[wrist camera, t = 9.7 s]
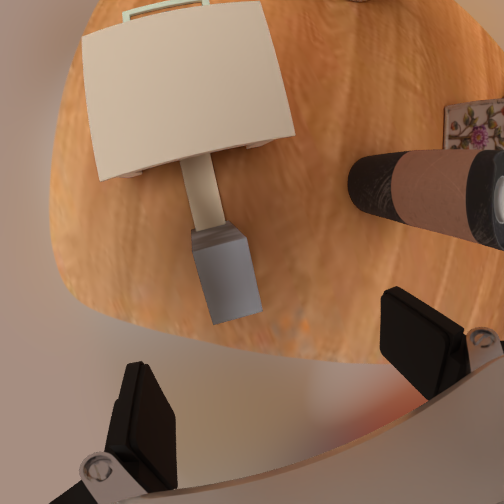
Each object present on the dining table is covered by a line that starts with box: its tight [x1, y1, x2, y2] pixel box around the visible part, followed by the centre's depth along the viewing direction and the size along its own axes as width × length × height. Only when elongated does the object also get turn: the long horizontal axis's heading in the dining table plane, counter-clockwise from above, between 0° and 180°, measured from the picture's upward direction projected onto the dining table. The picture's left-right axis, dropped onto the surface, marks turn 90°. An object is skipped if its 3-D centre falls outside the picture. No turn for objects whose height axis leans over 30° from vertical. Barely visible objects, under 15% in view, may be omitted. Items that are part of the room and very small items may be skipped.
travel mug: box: [348, 149, 504, 251], centre depth 24 cm, size 8×8×20 cm
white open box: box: [82, 1, 295, 182], centre depth 22 cm, size 15×13×10 cm
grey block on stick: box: [180, 153, 263, 325], centre depth 24 cm, size 4×22×10 cm, turn 12°
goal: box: [122, 0, 210, 23], centre depth 23 cm, size 10×8×1 cm
